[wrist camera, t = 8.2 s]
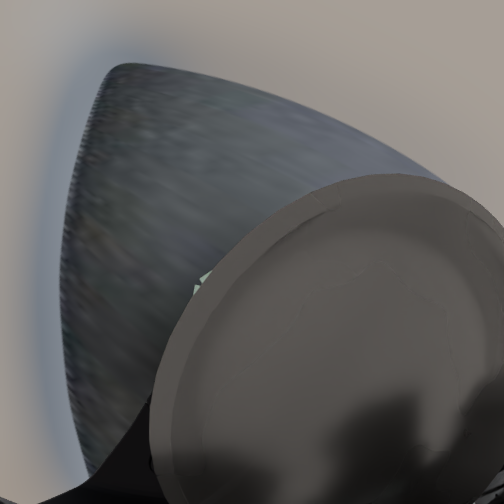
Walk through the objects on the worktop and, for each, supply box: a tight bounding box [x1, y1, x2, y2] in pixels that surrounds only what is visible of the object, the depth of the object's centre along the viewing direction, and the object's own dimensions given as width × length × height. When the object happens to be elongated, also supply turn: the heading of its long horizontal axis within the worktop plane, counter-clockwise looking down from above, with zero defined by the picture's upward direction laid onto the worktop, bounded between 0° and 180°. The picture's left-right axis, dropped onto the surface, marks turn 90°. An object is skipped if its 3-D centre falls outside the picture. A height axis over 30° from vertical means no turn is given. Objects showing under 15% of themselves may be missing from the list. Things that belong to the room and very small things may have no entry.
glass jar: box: [149, 174, 504, 504], centre depth 8 cm, size 5×5×13 cm
